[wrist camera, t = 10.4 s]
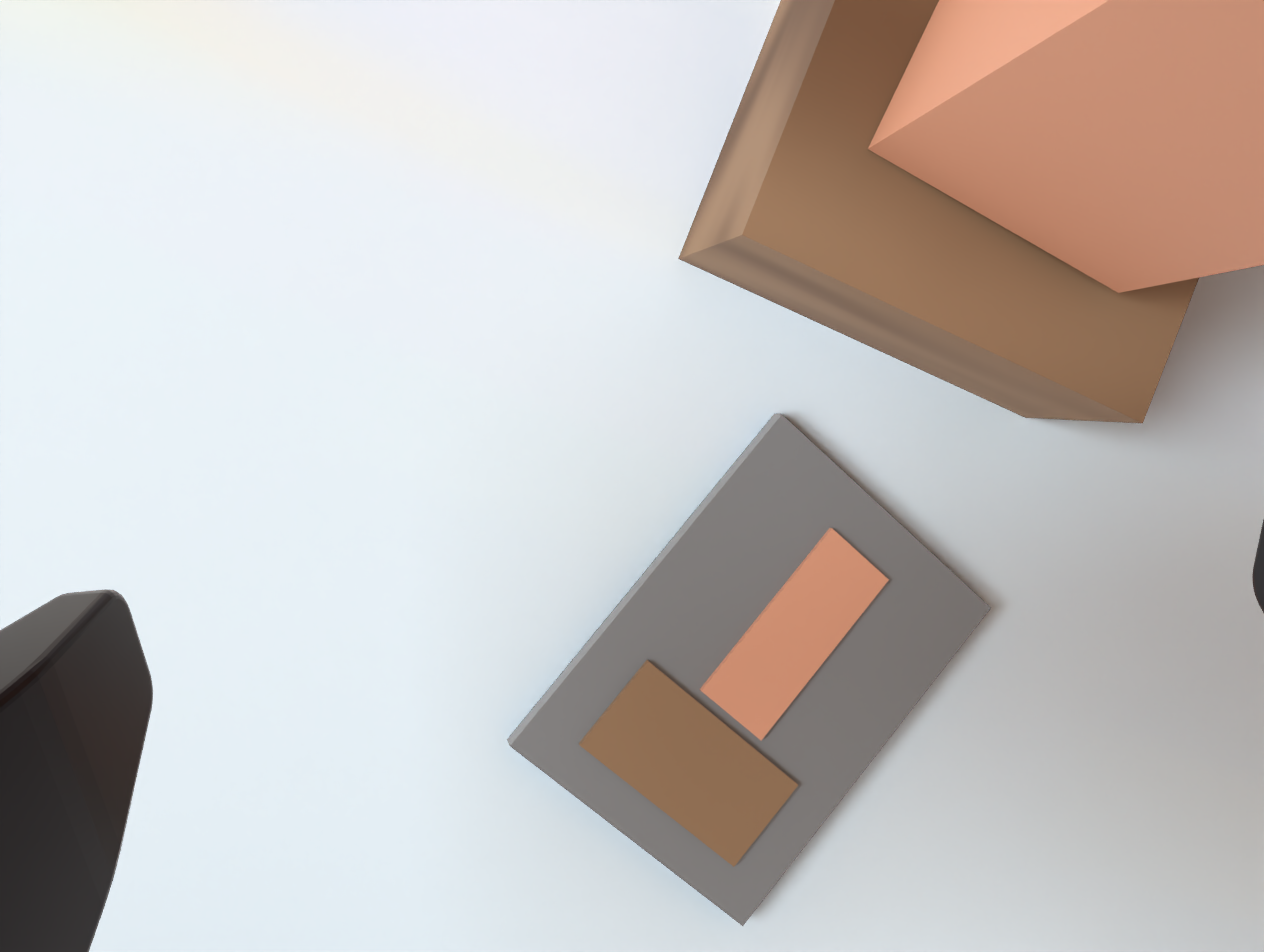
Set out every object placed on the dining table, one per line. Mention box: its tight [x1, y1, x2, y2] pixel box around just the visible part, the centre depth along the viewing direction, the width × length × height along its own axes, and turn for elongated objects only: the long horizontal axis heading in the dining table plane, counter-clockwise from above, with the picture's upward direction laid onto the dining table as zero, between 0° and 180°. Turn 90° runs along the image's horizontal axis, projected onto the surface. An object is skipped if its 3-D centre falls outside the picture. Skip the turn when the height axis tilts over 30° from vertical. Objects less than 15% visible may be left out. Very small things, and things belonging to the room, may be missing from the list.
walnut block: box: [679, 0, 1199, 423], centre depth 22 cm, size 8×8×4 cm
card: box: [507, 414, 991, 926], centre depth 23 cm, size 8×6×1 cm
